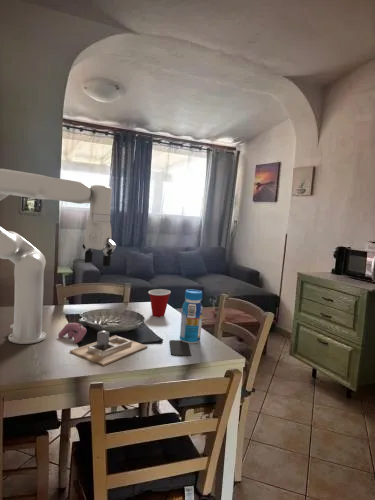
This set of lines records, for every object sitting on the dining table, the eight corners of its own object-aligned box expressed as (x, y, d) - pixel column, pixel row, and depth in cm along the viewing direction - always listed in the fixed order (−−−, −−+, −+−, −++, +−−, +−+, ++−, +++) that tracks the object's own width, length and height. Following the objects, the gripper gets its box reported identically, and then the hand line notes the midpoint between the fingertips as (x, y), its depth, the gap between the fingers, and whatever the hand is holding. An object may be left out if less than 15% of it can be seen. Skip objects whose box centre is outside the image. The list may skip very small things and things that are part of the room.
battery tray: (70, 352, 127) (70, 345, 127) (115, 336, 145) (115, 331, 145) (103, 365, 118) (103, 359, 118) (147, 347, 137) (147, 341, 136)
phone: (188, 340, 146) (191, 355, 131) (187, 342, 146) (191, 357, 131) (169, 339, 146) (170, 354, 131) (169, 341, 146) (170, 356, 131)
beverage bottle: (174, 339, 148) (178, 289, 146) (189, 335, 154) (193, 287, 152) (189, 345, 142) (194, 294, 140) (204, 341, 148) (209, 292, 146)
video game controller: (83, 345, 138) (90, 327, 140) (75, 343, 134) (82, 324, 136) (64, 339, 143) (71, 321, 145) (56, 336, 139) (63, 318, 141)
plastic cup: (144, 312, 183) (146, 288, 181) (165, 312, 186) (167, 288, 185) (148, 318, 172) (150, 293, 171) (171, 318, 176) (173, 293, 174)
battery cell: (94, 350, 128) (95, 331, 127) (102, 347, 131) (103, 328, 131) (102, 354, 126) (103, 334, 125) (110, 350, 129) (111, 331, 129)
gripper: (76, 216, 140) (73, 261, 142) (109, 220, 131) (106, 268, 133) (91, 217, 147) (88, 260, 148) (123, 221, 137) (121, 266, 139)
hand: (97, 264), depth 141 cm, fingers open, 9 cm apart
